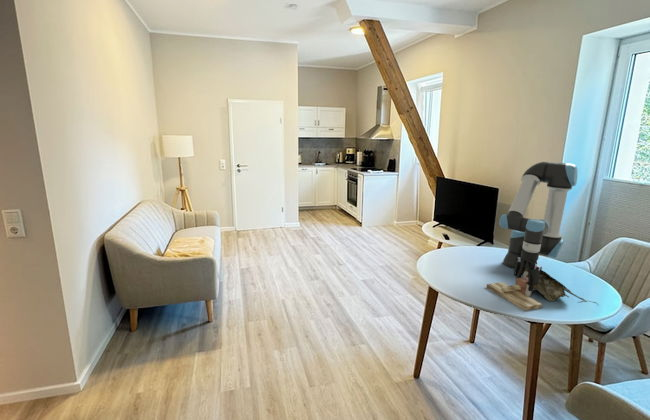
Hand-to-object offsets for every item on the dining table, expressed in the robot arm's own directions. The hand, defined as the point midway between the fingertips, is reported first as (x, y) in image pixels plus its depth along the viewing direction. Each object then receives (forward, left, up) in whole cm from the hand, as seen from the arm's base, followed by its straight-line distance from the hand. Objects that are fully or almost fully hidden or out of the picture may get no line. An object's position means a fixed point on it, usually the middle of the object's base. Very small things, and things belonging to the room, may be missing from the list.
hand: (522, 293), depth 172 cm
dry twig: (-26, +6, -1) cm, 27 cm away
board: (+8, +1, 0) cm, 8 cm away
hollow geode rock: (-14, -1, -1) cm, 14 cm away
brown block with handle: (+5, 0, 0) cm, 5 cm away
